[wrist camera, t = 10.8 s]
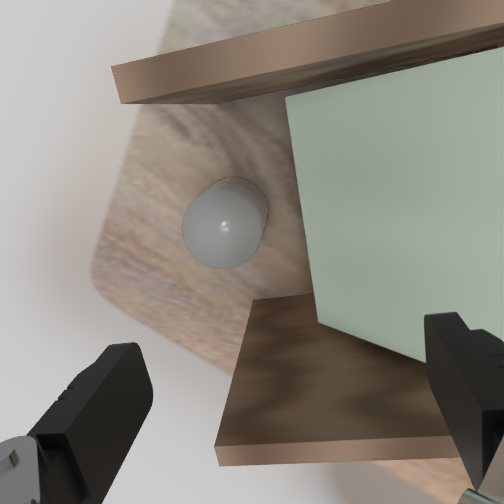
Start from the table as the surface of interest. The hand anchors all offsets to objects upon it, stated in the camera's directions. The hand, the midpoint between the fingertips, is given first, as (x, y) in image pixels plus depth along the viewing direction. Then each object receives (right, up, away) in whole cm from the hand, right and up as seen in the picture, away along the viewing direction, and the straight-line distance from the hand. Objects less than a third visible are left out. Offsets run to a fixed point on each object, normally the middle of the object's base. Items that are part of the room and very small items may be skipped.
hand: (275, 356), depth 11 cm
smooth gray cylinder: (-3, +4, +14) cm, 15 cm away
